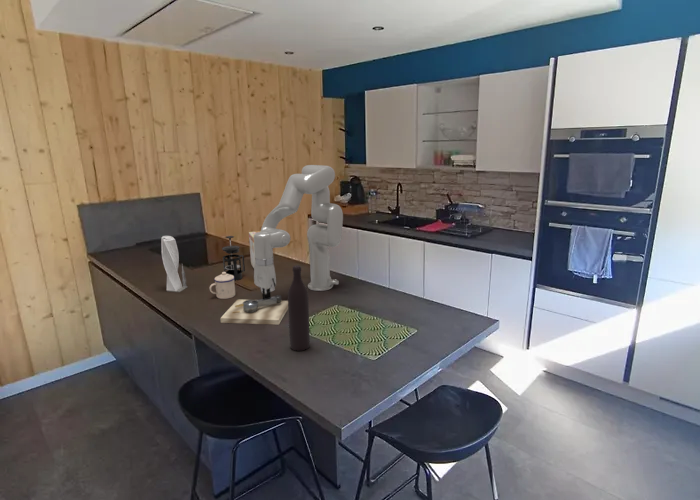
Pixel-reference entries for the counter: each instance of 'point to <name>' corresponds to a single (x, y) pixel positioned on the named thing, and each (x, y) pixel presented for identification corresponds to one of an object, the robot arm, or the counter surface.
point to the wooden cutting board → (256, 314)
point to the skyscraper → (172, 264)
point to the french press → (233, 268)
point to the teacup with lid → (224, 286)
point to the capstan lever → (259, 303)
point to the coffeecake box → (252, 247)
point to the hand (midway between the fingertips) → (266, 301)
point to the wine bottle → (298, 312)
